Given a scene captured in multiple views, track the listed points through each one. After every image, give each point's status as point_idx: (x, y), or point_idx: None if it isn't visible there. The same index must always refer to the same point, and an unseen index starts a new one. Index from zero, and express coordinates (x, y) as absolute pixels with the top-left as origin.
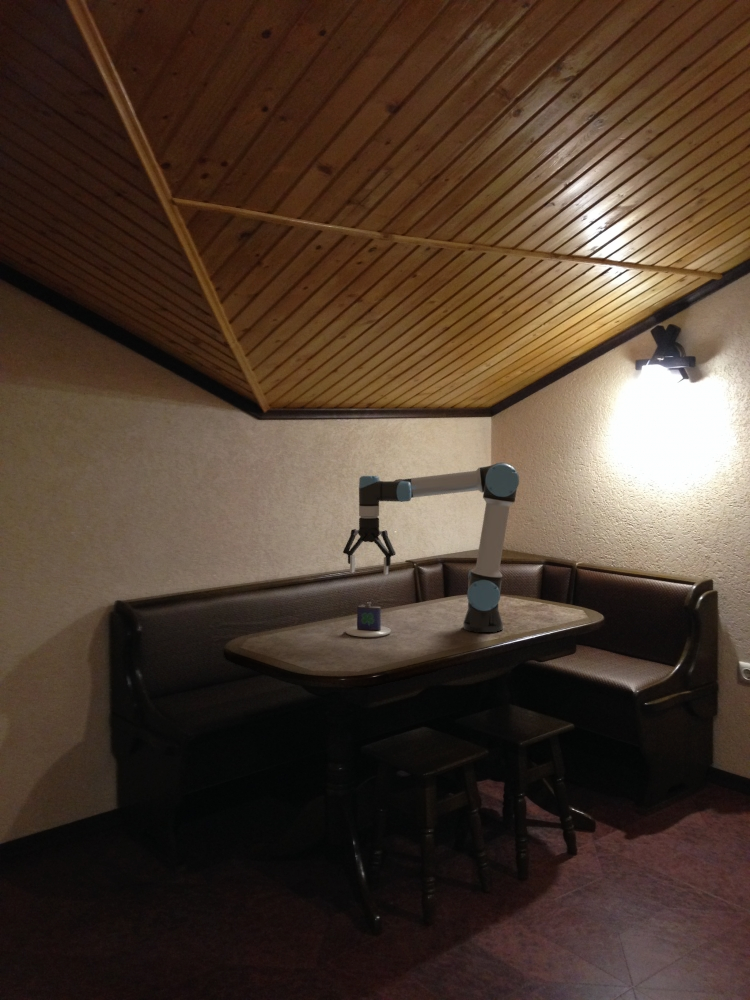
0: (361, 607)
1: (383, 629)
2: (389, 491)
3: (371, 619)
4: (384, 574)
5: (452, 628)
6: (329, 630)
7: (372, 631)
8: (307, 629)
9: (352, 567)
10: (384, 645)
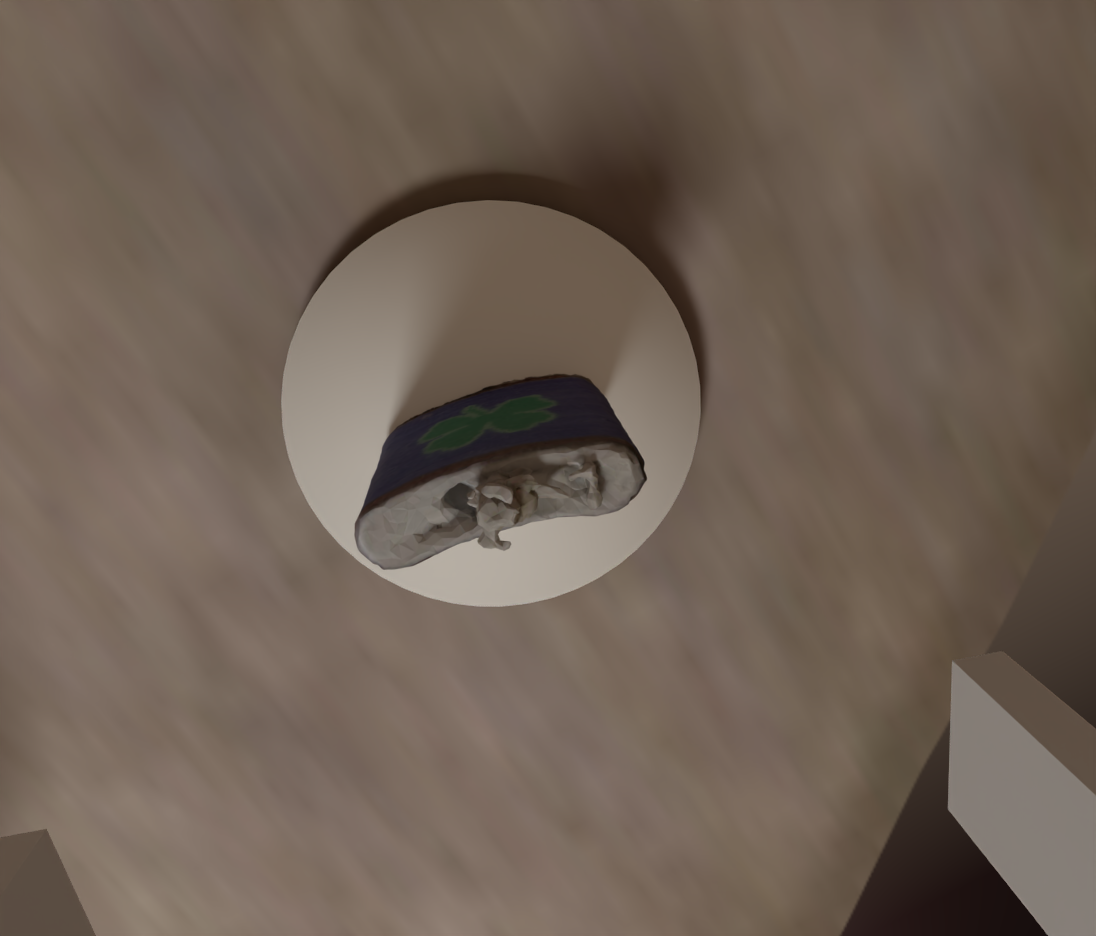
0: (571, 442)
1: None
2: None
3: (445, 432)
4: (15, 846)
5: None
6: (850, 322)
7: (431, 392)
8: (1045, 249)
9: (1050, 792)
10: (76, 64)
